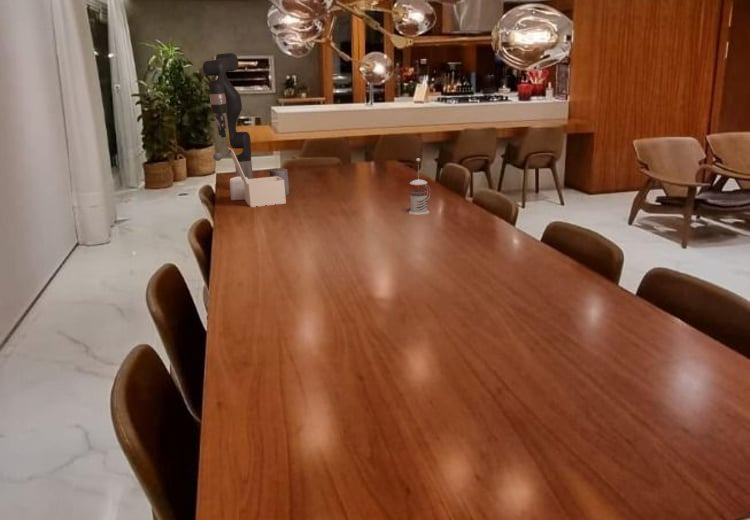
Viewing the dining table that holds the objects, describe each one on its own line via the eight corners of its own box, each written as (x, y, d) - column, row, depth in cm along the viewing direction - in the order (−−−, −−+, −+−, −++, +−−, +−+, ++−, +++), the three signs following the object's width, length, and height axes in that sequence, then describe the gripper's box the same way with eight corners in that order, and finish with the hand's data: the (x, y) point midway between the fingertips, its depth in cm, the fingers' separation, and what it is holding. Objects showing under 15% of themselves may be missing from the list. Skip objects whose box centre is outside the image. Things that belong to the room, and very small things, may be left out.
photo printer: (250, 198, 343) (248, 175, 339) (250, 199, 339) (248, 176, 335) (231, 199, 342) (229, 176, 338) (230, 201, 338) (228, 177, 334)
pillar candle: (268, 194, 350) (265, 167, 345) (282, 192, 356) (280, 165, 351) (277, 197, 343) (275, 169, 338) (292, 194, 349) (290, 167, 345)
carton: (245, 202, 332) (243, 179, 329) (279, 198, 339) (277, 176, 335) (250, 207, 320) (248, 183, 316) (285, 203, 326) (284, 180, 323)
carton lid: (243, 179, 329) (226, 187, 327) (227, 145, 322) (210, 152, 320) (248, 183, 316) (230, 191, 314) (232, 148, 309) (213, 156, 307)
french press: (404, 212, 296) (402, 158, 288) (422, 208, 303) (421, 155, 296) (418, 215, 289) (417, 160, 281) (436, 211, 296) (436, 157, 288)
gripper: (208, 102, 318) (212, 135, 323) (212, 104, 306) (216, 138, 311) (223, 101, 321) (227, 134, 326) (228, 103, 308) (232, 137, 313)
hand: (222, 136), depth 318 cm, fingers open, 8 cm apart
